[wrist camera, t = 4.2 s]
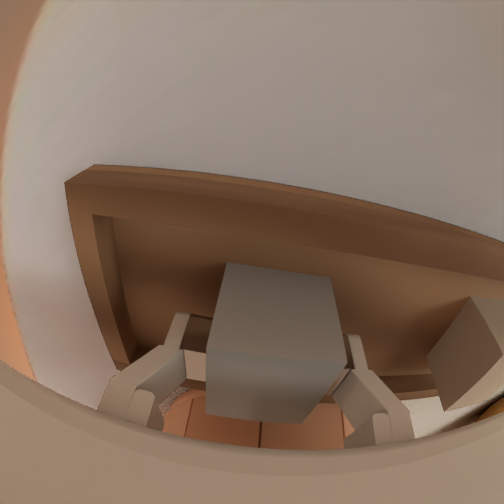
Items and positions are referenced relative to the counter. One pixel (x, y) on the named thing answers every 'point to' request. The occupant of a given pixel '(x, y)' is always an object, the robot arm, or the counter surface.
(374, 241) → the parts tray
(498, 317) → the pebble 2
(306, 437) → the bowl
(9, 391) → the robot arm
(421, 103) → the counter surface
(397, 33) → the counter surface
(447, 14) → the counter surface
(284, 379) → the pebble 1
